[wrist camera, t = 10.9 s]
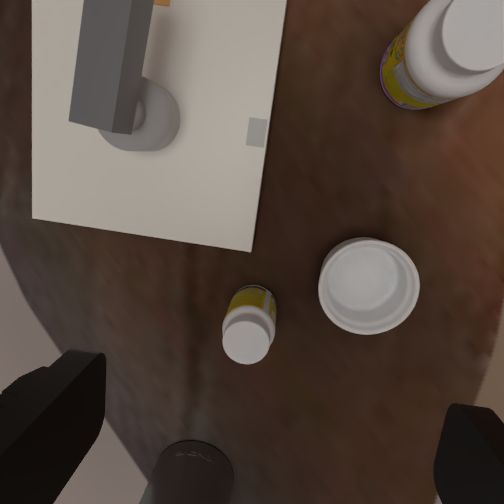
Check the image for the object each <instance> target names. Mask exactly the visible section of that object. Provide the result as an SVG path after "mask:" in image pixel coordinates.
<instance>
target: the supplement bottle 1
mask: <svg viewBox="0 0 504 504" xmlns="http://www.w3.org/2000/svg"><path fill="white" fill-rule="evenodd" d="M276 311H277V305H276V301H275V298H274V296H273V295H272V293H271V292H270V291H268V290H267V289H265V288H264V287H261V286H258V285H247V286H244V287H242V288H241V289H239V290H238V291H237V292H236V293H235V294H234V296H233V297H232V299H231V303H230V305H229V308H228V311H227V313H226V316H225V319H224V322H223V326H222V332H223V348H224V350H225V352H226V354H227V355H228V356H229V357H230V358H231V359H232V360H234V361H236V362H238V363H241V364H253V363H256V362H258V361H260V360H261V359H262V358H264V357H265V355H266V354H267V352H268V350H269V346H270V345H271V343H272V342H273V339H274V336H275V326H276Z"/></svg>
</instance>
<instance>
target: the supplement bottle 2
mask: <svg viewBox="0 0 504 504" xmlns="http://www.w3.org/2000/svg"><path fill="white" fill-rule="evenodd" d="M503 69H504V0H430V1H429V2H428V3H427V4H426V5H425V6H424V7H423V8H422V9H421V10H420V11H419V13H418V14H417V15H416V16H415V17H414V18H413V19H412V20H411V21H410V22H409V24H408V25H407V26H406V27H405V28H404V29H403V30H402V31H401V32H400V33H399V34H398V36H397V37H396V38H395V39H394V40H393V41H392V42H391V44H390V45H389V47H388V48H387V50H386V51H385V53H384V56H383V58H382V61H381V66H380V80H381V85H382V88H383V90H384V92H385V94H386V95H387V97H388V98H389V99H390V100H391V101H392V102H393V103H395V104H396V105H398V106H400V107H402V108H405V109H410V110H421V109H426V108H430V107H433V106H436V105H439V104H442V103H445V102H448V101H451V100H454V99H457V98H461V97H464V96H467V95H470V94H472V93H475V92H477V91H479V90H481V89H483V88H484V87H486V86H487V85H489V84H490V83H491V82H492V81H493V80H494V79H495V78H496V77H497V76H498V75H499V74H500V73H501V72H502V70H503Z"/></svg>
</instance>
